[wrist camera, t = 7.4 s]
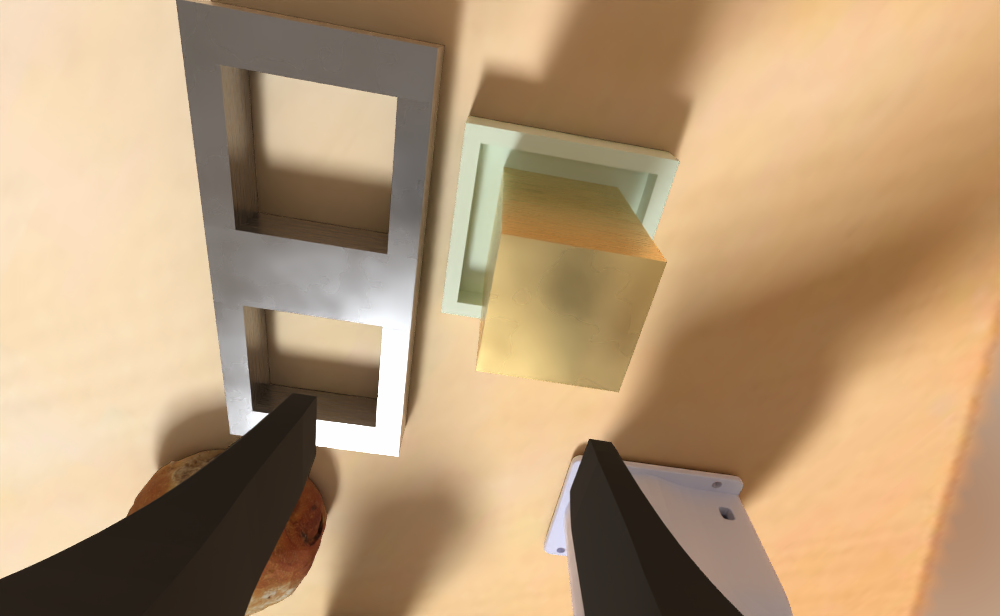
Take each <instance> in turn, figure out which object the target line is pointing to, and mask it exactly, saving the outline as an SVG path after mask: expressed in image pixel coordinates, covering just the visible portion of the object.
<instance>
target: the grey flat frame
mask: <svg viewBox="0 0 1000 616" xmlns="http://www.w3.org/2000/svg"><path fill="white" fill-rule="evenodd" d="M176 4H177V12H178V20H179V28H180V36H181V44H182V52H183V60H184V68H185V76H186V84H187V92H188V100H189V108H190V116H191V124H192V132H193V140H194V148H195V156H196V164H197V172H198V180H199V188H200V196H201V204H202V212H203V220H204V228H205V236H206V244H207V252H208V260H209V268H210V276H211V284H212V292H213V300H214V308H215V316H216V324H217V332H218V340H219V348H220V356H221V364H222V372H223V380H224V388H225V396H226V404H227V412H228V420H229V428H230V434H233V435H240V436H243V435H244V434H246V433H247V432H248V431H249V430H250V429H252V428H253V427H254V426H255V425H256V424H257V423H259V422H260V421H261V420H262V419H263V418H264V417H265V416H267V415H268V414H269V413H270V412H271V411H272V410H273V409H274V408H275V407H277V406H278V405H279V404H280V403H281V402H282V401H283V400H284V399H285V398H286V397H287V396H289V395H290V394H292V393H297V394H304V395H310V396H317V423H316V446H324V447H331V448H339V449H347V450H354V451H362V452H369V453H377V454H384V455H392V456H398V454H399V450H400V447H401V443H402V439H403V435H404V431H405V425H406V416H407V406H408V396H409V387H410V377H411V367H412V357H413V348H414V338H415V328H416V319H417V309H418V299H419V289H420V280H421V270H422V260H423V251H424V241H425V231H426V221H427V212H428V202H429V192H430V183H431V173H432V163H433V154H434V144H435V134H436V124H437V115H438V105H439V95H440V86H441V76H442V66H443V56H444V47H445V45H439V44H434V43H429V42H424V41H418V40H413V39H408V38H403V37H397V36H392V35H387V34H382V33H376V32H371V31H366V30H361V29H355V28H350V27H345V26H340V25H334V24H329V23H324V22H319V21H313V20H308V19H303V18H298V17H292V16H287V15H282V14H277V13H271V12H266V11H261V10H256V9H250V8H245V7H240V6H234V5H229V4H224V3H219V2H213V1H206V0H176ZM249 70H251V71H257V72H262V73H268V74H273V75H279V76H284V77H290V78H295V79H301V80H306V81H312V82H317V83H323V84H328V85H334V86H339V87H345V88H350V89H356V90H361V91H367V92H372V93H378V94H383V95H389V96H394V97H398V98H397V114H396V129H395V144H394V160H393V175H392V190H391V206H390V221H389V234H387V233H381V232H375V231H368V230H362V229H356V228H350V227H344V226H338V225H332V224H325V223H319V222H313V221H307V220H301V219H295V218H289V217H282V216H276V215H270V214H264V213H258V200H257V186H256V171H255V156H254V142H253V127H252V113H251V98H250V83H249ZM265 309H270V310H276V311H283V312H290V313H296V314H303V315H310V316H316V317H323V318H330V319H336V320H343V321H350V322H356V323H363V324H370V325H376V326H383V329H382V344H381V359H380V375H379V390H378V399H372V398H364V397H357V396H350V395H343V394H336V393H329V392H321V391H314V390H307V389H300V388H293V387H286V386H278V385H271V384H270V375H269V361H268V346H267V332H266V317H265Z"/></svg>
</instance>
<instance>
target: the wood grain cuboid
mask: <svg viewBox="0 0 1000 616" xmlns="http://www.w3.org/2000/svg"><path fill="white" fill-rule="evenodd" d="M666 263H667V262H666V260H665V259H664V257H663V256H662V254H661V252H660V251H659V249H658V248H657V246H656V245H655V243H654V242H653V240H652V239H651V237H650V236H649V234H648V233H647V231H646V230H645V228H644V227H643V225H642V224H641V222H640V221H639V219H638V217H637V216H636V214H635V213H634V211H633V210H632V208H631V207H630V205H629V204H628V202H627V201H626V199H625V198H624V196H623V195H622V193H621V192H620V190H619V189H618V187H613V186H607V185H602V184H596V183H590V182H585V181H579V180H574V179H568V178H563V177H557V176H552V175H546V174H541V173H535V172H529V171H524V170H518V169H513V168H507V167H504V168H503V173H502V179H501V185H500V190H499V196H498V201H497V207H496V213H495V218H494V224H493V230H492V235H491V241H490V246H489V252H488V258H487V263H486V269H485V277H484V288H483V299H482V310H481V320H480V331H479V342H478V353H477V364H476V371H481V372H488V373H494V374H501V375H508V376H514V377H521V378H528V379H534V380H541V381H548V382H554V383H561V384H568V385H574V386H581V387H588V388H594V389H601V390H608V391H614V392H619V390H620V387H621V385H622V382H623V379H624V376H625V374H626V371H627V368H628V366H629V363H630V360H631V358H632V355H633V352H634V349H635V347H636V344H637V341H638V339H639V336H640V333H641V331H642V328H643V325H644V322H645V320H646V317H647V314H648V312H649V309H650V306H651V304H652V301H653V298H654V295H655V293H656V290H657V287H658V285H659V282H660V279H661V277H662V274H663V271H664V268H665V266H666Z"/></svg>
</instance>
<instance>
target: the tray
mask: <svg viewBox="0 0 1000 616" xmlns="http://www.w3.org/2000/svg"><path fill="white" fill-rule="evenodd" d="M679 162H680V161H679V160H678V159H677V158H675V157H674V156H673V155H672V154H670V153H669V152H667V151H662V150H656V149H651V148H645V147H640V146H634V145H629V144H623V143H618V142H612V141H607V140H601V139H596V138H590V137H584V136H579V135H573V134H568V133H562V132H557V131H551V130H546V129H540V128H535V127H529V126H524V125H518V124H513V123H507V122H502V121H496V120H491V119H485V118H480V117H474V116H468V119H467V121H466V125H465V133H464V141H463V148H462V156H461V164H460V171H459V179H458V187H457V194H456V202H455V210H454V217H453V225H452V233H451V241H450V248H449V256H448V264H447V271H446V279H445V287H444V294H443V302H442V310H441V312H442V313H448V314H455V315H461V316H468V317H474V318H481V310H482V299H483V288H484V277H485V269H486V263H487V258H488V252H489V246H490V241H491V235H492V230H493V224H494V218H495V213H496V207H497V201H498V196H499V190H500V185H501V179H502V173H503V168H504V167H507V168H513V169H518V170H524V171H529V172H535V173H541V174H546V175H552V176H557V177H563V178H568V179H574V180H579V181H585V182H590V183H596V184H602V185H607V186H613V187H618V189H619V190H620V192H621V193H622V195H623V196H624V198H625V199H626V201H627V202H628V204H629V205H630V207H631V208H632V210H633V211H634V213H635V214H636V216H637V217H638V219H639V221H640V222H641V224H642V225H643V227H644V228H645V230H646V231H647V233H648V234H649V236H650V237H651V239H652V240H653V238H654V235H655V232H656V229H657V226H658V224H659V221H660V218H661V215H662V212H663V209H664V206H665V203H666V200H667V197H668V194H669V191H670V188H671V185H672V182H673V180H674V177H675V174H676V171H677V168H678V165H679Z"/></svg>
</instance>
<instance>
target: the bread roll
mask: <svg viewBox="0 0 1000 616" xmlns="http://www.w3.org/2000/svg"><path fill="white" fill-rule="evenodd" d="M224 451H225V450H218V449H215V450H209V451H202V452H200V453H197V454H194V455H191V456H188V457H186V458H184V459H182V460H179V461H171V462H170V463H169V464H167V465H165V466H164V467H162V468H160V469H159V470H158V471H157V472H156V473H155V474H154V475H153V476H152V478H151V479H150V480H149V482H148V483H147V484H146V485H145V487H144V488H143V489H142V490H141V492H140V493H139V494H138V496H137V497H136V499H135V501H134V504H133V506H132V507H131V509H130V510H129V513H128V515H127V516H129V515H131V514H132V513H134V512H136V511H137V510H139V509H141V508H142V507H144V506H146V505H147V504H149V503H151V502H152V501H154V500H156V499H157V498H159V497H160V496H162V495H163V494H165V493H166V492H168V491H170V490H171V489H173V488H174V487H176V486H177V485H179V484H180V483H181V482H183V481H184V480H186V479H187V478H189V477H190V476H191V475H193V474H194V473H196V472H197V471H198V470H200V469H201V468H202V467H204V466H205V465H206V464H208V463H209V462H210V461H212V460H213V459H214V458H216V457H217V456H218V455H220V454H221V453H222V452H224ZM326 519H327V514H326V509H325V506H324V503H323V500H322V497H321V494H320V492H319V490H318V489H317V487H316V486H315V485H314V483H313V482H312V481H311V480H310V479H309V478H307V481H306V484H305V486H304V489H303V492H302V494H301V496H300V498H299V500H298V502H297V504H296V506H295V508H294V510H293V512H292V514H291V516H290V518H289V520H288V522H287V524H286V526H285V528H284V530H283V532H282V534H281V536H280V538H279V540H278V542H277V544H276V546H275V548H274V550H273V552H272V554H271V556H270V558H269V560H268V562H267V564H266V566H265V568H264V570H263V572H262V575H261V577H260V579H259V581H258V583H257V586H256V588H255V590H254V592H253V595H252V598H251V600H250V603H249V605H248V608H247V610H246V613H245V616H249V615H252V614H254V613H256V612H259V611H261V610H263V609H265V608H267V607H268V606H270V605H273V604H276V603H278V602H280V601H282V600H284V599H285V598H287V597H289V596H290V595H291V594H292V593H293V592H294V591H295V589H296V588H297V587H298V585H299V584H300V583H301V581H302V580H303V578H304V577H305V576H306V575H307V573H308V571H309V570H310V568H311V566H312V563H313V561H314V558H315V555H316V553H317V551H318V549H319V546H320V543H321V538H322V535H323V532H324V530H325V526H326Z"/></svg>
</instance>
